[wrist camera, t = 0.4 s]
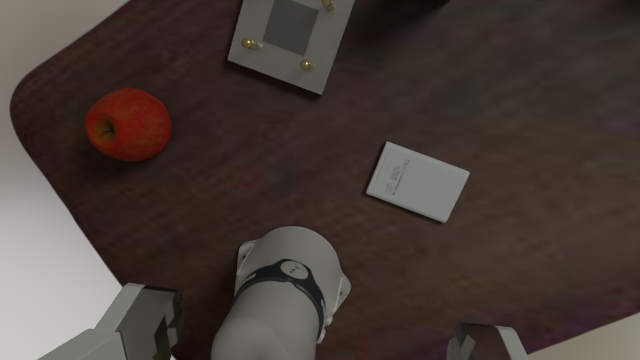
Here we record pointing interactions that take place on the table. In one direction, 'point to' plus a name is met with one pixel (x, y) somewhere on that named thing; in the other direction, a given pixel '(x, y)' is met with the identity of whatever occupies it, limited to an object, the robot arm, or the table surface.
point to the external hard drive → (417, 182)
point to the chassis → (291, 39)
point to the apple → (128, 125)
